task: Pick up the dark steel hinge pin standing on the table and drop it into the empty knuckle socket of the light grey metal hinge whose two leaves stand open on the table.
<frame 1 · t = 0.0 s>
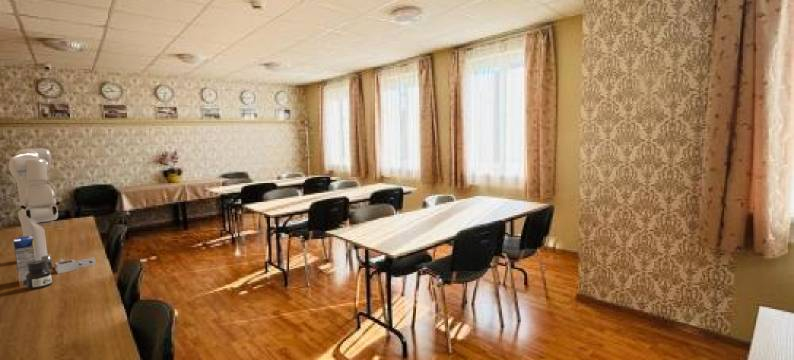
hand: (42, 216, 204), 31 cm above the table, tool pointing down, fingers open, 9 cm apart
beverage box: (29, 281, 197), on the table
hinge: (66, 270, 213), on the table
ink bottle: (40, 286, 190), on the table
hinge pin: (47, 268, 218), on the table
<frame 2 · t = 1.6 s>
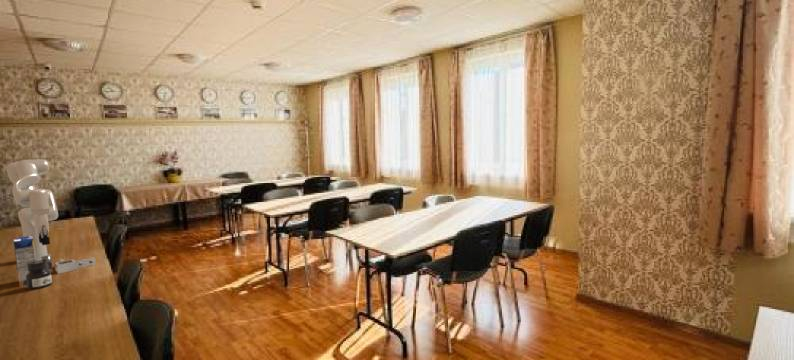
hand: (44, 243, 216), 14 cm above the table, tool pointing down, fingers open, 9 cm apart
nothing on the table moved.
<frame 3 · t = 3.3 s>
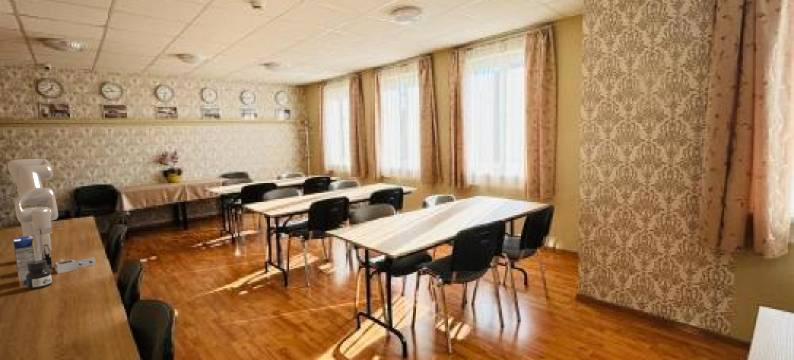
hand: (47, 263, 217), 3 cm above the table, tool pointing down, fingers closed on hinge pin, 4 cm apart
hinge pin: (47, 268, 218), on the table, touching gripper
everything else where it was.
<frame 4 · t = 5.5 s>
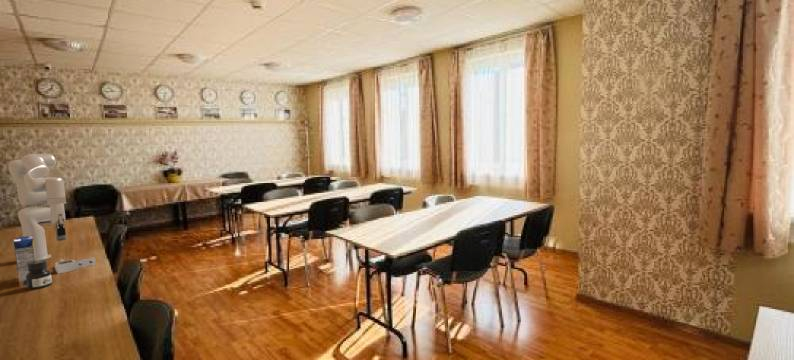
hand: (61, 234, 211), 20 cm above the table, tool pointing down, fingers closed on hinge pin, 4 cm apart
hinge pin: (61, 239, 212), point 17 cm above the table, touching gripper
everything else where it was.
when the fingers open (6 cm above the table, at t = 7.6 s): hinge pin drops 3 cm, resting in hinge.
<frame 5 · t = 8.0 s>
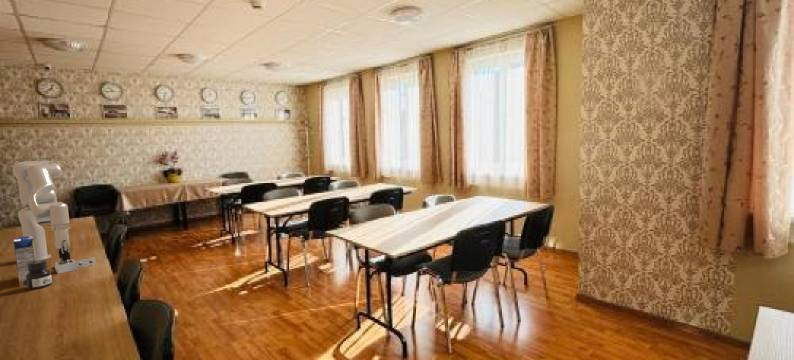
hand: (64, 258, 213), 7 cm above the table, tool pointing down, fingers open, 7 cm apart
hinge pin: (66, 270, 213), resting in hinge
everything else where it was.
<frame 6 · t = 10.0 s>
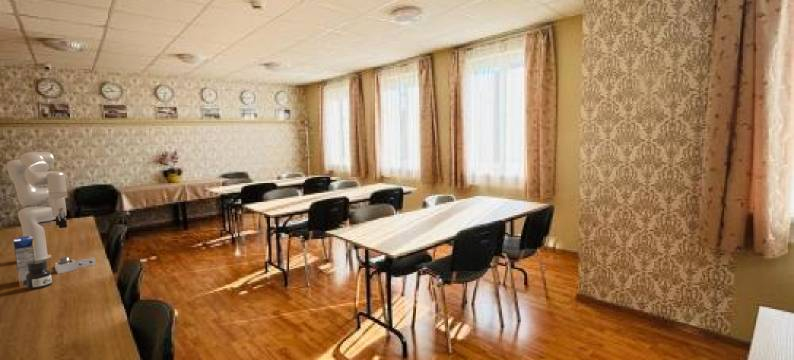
hand: (61, 226, 214), 24 cm above the table, tool pointing down, fingers open, 9 cm apart
nothing on the table moved.
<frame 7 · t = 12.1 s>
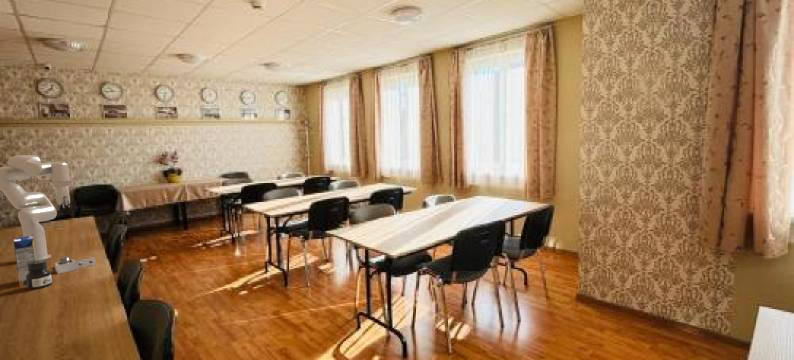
hand: (65, 213, 226), 28 cm above the table, tool pointing down, fingers open, 9 cm apart
nothing on the table moved.
at the end: hinge pin 0.0 cm off-centre on the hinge, point 0.0 cm above the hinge's base; hinge pin tilted 0°; the gripper is holding nothing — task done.
